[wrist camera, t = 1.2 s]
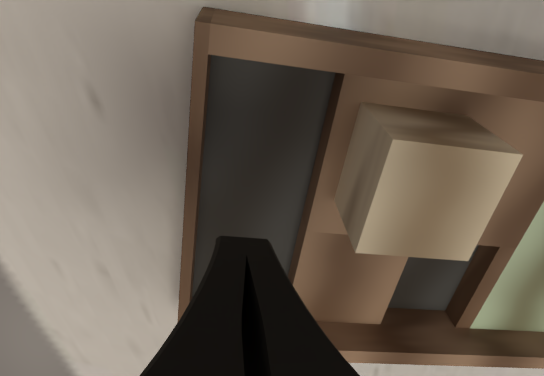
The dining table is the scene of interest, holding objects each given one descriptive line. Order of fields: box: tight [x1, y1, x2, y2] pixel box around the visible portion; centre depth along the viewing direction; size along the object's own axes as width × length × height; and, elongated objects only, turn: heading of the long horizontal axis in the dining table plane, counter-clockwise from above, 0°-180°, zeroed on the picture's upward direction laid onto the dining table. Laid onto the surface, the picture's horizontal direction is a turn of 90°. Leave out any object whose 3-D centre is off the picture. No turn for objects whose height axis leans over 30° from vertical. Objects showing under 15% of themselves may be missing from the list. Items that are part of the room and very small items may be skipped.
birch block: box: [334, 102, 523, 261], centre depth 17 cm, size 5×5×4 cm
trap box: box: [178, 7, 544, 368], centre depth 21 cm, size 26×17×4 cm, turn 81°
